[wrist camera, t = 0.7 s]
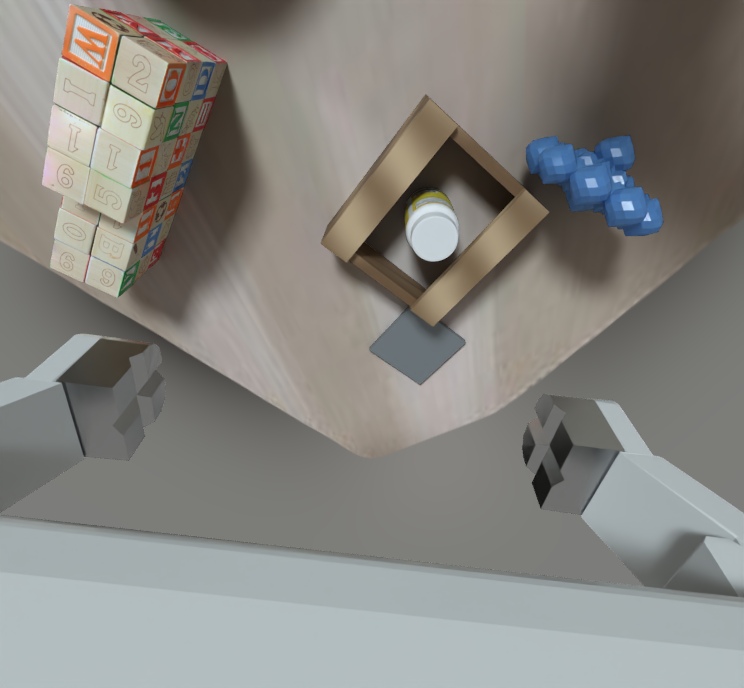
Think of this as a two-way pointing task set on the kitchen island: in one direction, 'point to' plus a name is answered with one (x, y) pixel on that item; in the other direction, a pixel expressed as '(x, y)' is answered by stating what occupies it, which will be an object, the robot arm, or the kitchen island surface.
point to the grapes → (597, 181)
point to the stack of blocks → (123, 141)
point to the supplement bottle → (431, 224)
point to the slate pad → (416, 345)
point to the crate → (387, 186)
